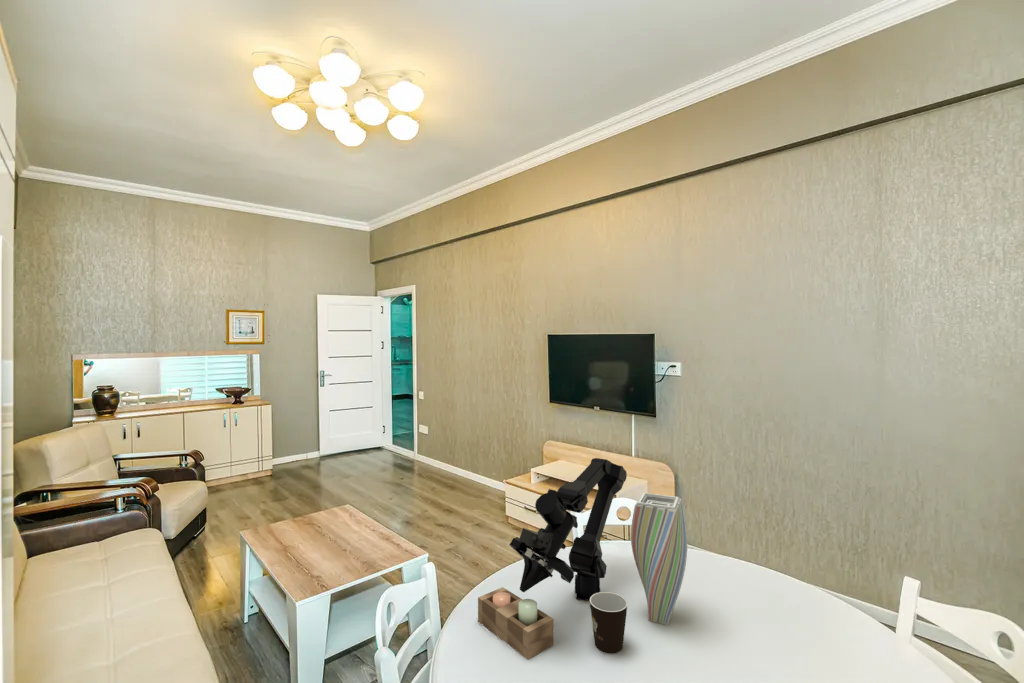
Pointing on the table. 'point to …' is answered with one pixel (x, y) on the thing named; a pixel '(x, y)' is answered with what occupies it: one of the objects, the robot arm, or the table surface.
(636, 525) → the vase
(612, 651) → the brown paper cup
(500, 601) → the peach orange egg
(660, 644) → the table surface
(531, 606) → the pale green egg
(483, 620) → the wooden compartment box
